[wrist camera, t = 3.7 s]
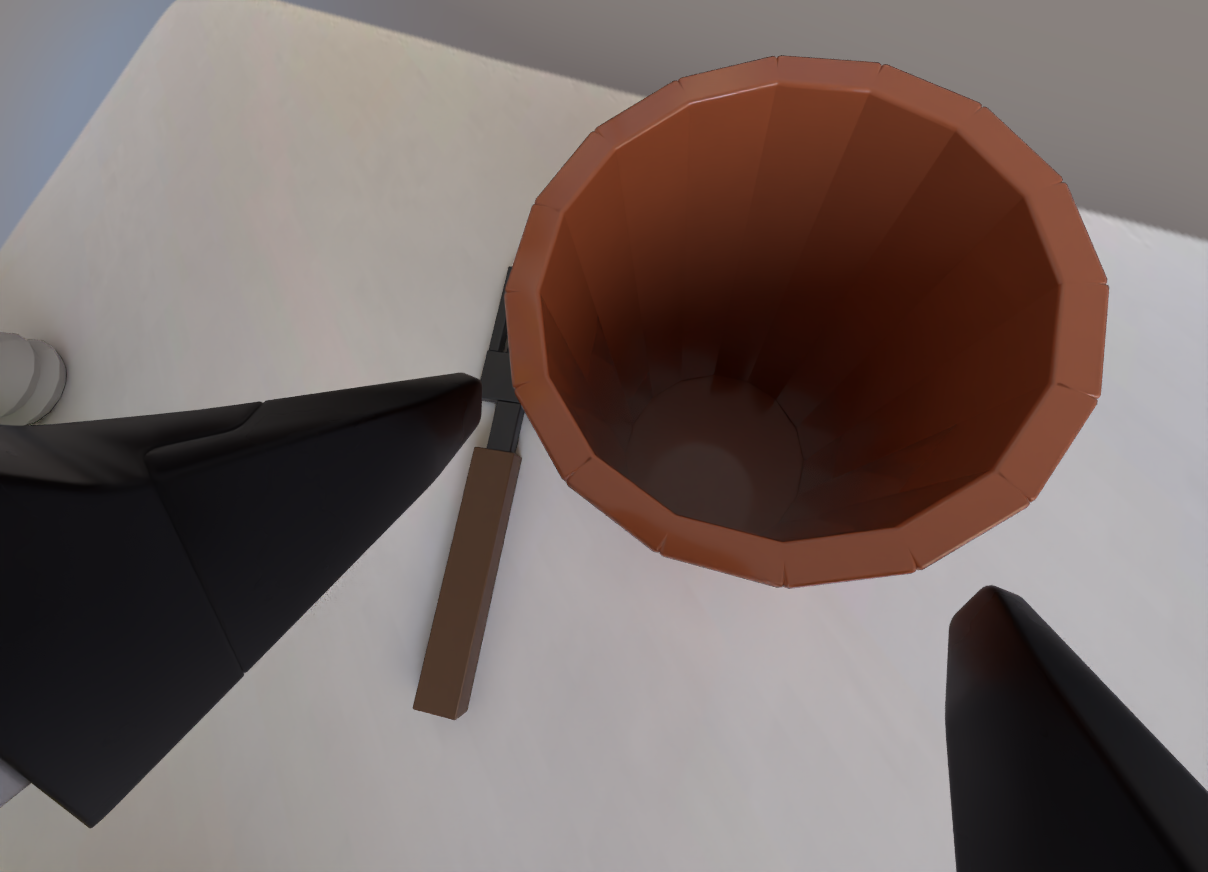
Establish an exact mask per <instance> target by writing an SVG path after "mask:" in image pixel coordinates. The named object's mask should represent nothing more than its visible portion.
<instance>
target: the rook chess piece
mask: <svg viewBox="0 0 1208 872" xmlns="http://www.w3.org/2000/svg"><path fill="white" fill-rule="evenodd" d="M65 383H66V368H65V365H64V363H63V361H62V359H61V357H60V356H59V354H58V353H57V352H56V351H55V349H54V348H53V347H51V346H50V345H48V344H47V343H45V342H44V341H42V340H30V339H27V340H26V339H24V338H23V337H21V336H20V335H19V334H14V333H5V332H0V424H1V425H23V426H24V425H27V424H30V423H33V422H36V421H38V420H39V419H41V418H42V417H43V416H45V415H46V414H47V413H49V412H50V411H51V409H52V408H53V407H54V405H55V404H56V403H57V401H58V400H59V399H60V397H61V394H62V391H63V389H64V386H65Z"/></svg>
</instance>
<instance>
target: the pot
mask: <svg viewBox="0 0 1208 872" xmlns="http://www.w3.org/2000/svg"><path fill="white" fill-rule="evenodd" d="M981 106H982V105H981V104H980V103H979V102H977V101H974V100H972V99H969V98H967V97H965V96H962V95H960V94H957V93H955V92H952V91H950V90H948V89H945V88H943V87H940V86H938V85H935V84H933V83H931V82H928V81H926V80H923V79H921V78H918V77H916V76H914V75H911V74H909V73H907V72H904V71H902V70H899V69H897V68H894V67H892V66H890V65H886V64H884V65H882V66H881V64H880V63H878V62H864V61H851V60H837V59H823V58H810V57H796V56H782V55H781V56H778V57H777V59H776V57H775V56H771V57H766V58H762V59H758V60H754V61H750V62H745V63H741V64H737V65H733V66H729V67H724V68H720V69H716V70H712V71H707V72H704V73H699V74H695V75H691V76H686V77H682V78H680V79H679V80H678V81H672V82H671V83H670V84H667V85H666V86H664V87H663V88H661V89H659V90H658V91H656V92H654V93H653V94H651V95H649V96H648V97H646V98H644V99H643V100H641V101H639V102H638V103H636V104H634V105H633V106H631V107H630V108H628V109H626V110H625V111H623V112H621V113H620V114H618V115H616V116H615V117H613V118H611V119H610V120H608V121H606V122H605V123H603V124H601V125H600V126H598V127H597V128H596V129H595V131H593V132H591V133H590V134H589V135H588V136H587V138H586V139H585V140H584V141H583V143H582V144H581V145H580V146H579V147H578V149H577V150H576V151H575V152H574V153H573V155H572V156H571V157H570V158H569V160H568V161H567V162H566V163H565V164H564V166H563V167H562V168H561V169H560V170H559V172H558V173H557V174H556V175H555V177H554V178H553V179H552V180H551V181H550V183H549V184H548V185H547V186H546V187H545V189H544V190H543V191H542V192H541V194H540V195H539V196H538V197H537V198H536V200H535V204H533V206H532V208H531V211H530V214H529V217H528V220H527V223H526V226H525V229H524V232H523V235H522V238H521V241H520V244H519V248H518V251H517V254H516V257H515V260H514V263H513V266H512V269H511V272H510V275H509V278H508V281H507V284H506V287H505V292H506V293H505V295H504V301H505V312H506V323H507V334H508V345H509V356H510V367H511V378H512V386H513V388H514V389H515V395H516V397H517V399H518V401H519V403H520V404H521V406H522V408H523V410H524V412H525V413H526V415H527V417H528V419H529V421H530V422H531V424H532V426H533V428H534V430H535V431H536V433H537V435H538V437H539V439H540V440H541V442H542V444H543V446H544V447H545V449H546V451H547V453H548V455H549V456H550V458H551V460H552V462H553V464H554V465H555V467H556V469H557V471H558V473H559V474H560V476H561V478H562V479H563V480H564V481H566V483H567V485H568V486H569V487H570V488H571V489H573V490H574V491H575V492H577V493H578V494H579V495H580V496H582V497H583V498H584V499H586V500H587V501H588V502H590V503H591V504H592V505H593V506H595V507H596V508H597V509H599V510H600V511H601V512H603V513H604V514H605V515H606V516H608V517H609V518H610V519H612V520H613V521H614V522H615V523H617V524H618V525H619V526H621V527H622V528H623V529H625V530H626V531H627V532H628V533H630V534H631V535H632V536H634V537H635V538H636V539H638V540H639V541H640V542H641V543H643V544H644V545H645V546H647V547H648V548H649V549H650V550H652V551H653V552H656V553H659V552H660V554H661V555H662V556H663V557H667V558H670V559H674V560H678V561H681V562H685V563H689V564H692V565H696V566H700V567H703V568H707V569H711V570H714V571H718V572H722V573H725V574H729V575H733V576H736V577H740V578H743V579H747V580H751V581H754V582H758V583H762V584H765V585H769V586H773V587H776V588H779V587H785V588H788V589H791V588H799V587H807V586H815V585H823V584H831V583H839V582H847V581H855V580H863V579H871V578H880V577H888V576H896V575H904V574H912V573H913V572H915V571H916V570H923V569H925V568H927V567H928V566H930V565H932V564H933V563H935V562H937V561H938V560H940V559H942V558H943V557H945V556H947V555H948V554H950V553H952V552H953V551H955V550H957V549H958V548H960V547H962V546H963V545H965V544H967V543H968V542H970V541H972V540H974V539H975V538H977V537H979V536H980V535H982V534H984V533H985V532H987V531H989V530H990V529H992V528H994V527H995V526H997V525H999V524H1000V523H1002V522H1004V521H1005V520H1007V519H1009V518H1010V517H1012V516H1014V515H1015V514H1017V513H1019V512H1020V511H1022V510H1024V509H1026V508H1027V507H1028V506H1029V504H1030V502H1032V501H1034V500H1035V499H1036V498H1037V496H1038V495H1039V493H1040V492H1041V490H1042V489H1043V487H1044V485H1045V484H1046V482H1047V481H1048V479H1049V478H1050V476H1051V475H1052V473H1053V471H1054V470H1055V468H1056V467H1057V465H1058V464H1059V462H1060V461H1061V459H1062V458H1063V456H1064V454H1065V453H1066V451H1067V450H1068V448H1069V447H1070V445H1071V444H1072V442H1073V440H1074V439H1075V437H1076V436H1077V434H1078V433H1079V431H1080V430H1081V428H1082V427H1083V425H1084V423H1085V422H1086V420H1087V419H1088V417H1089V416H1090V414H1091V413H1092V411H1093V409H1094V408H1095V406H1096V405H1097V402H1098V400H1097V399H1098V398H1099V397H1100V395H1101V386H1102V373H1103V361H1104V348H1105V335H1106V322H1107V309H1108V297H1109V286H1108V285H1106V283H1107V277H1106V275H1105V273H1104V270H1103V268H1102V265H1101V263H1100V261H1099V258H1098V256H1097V254H1096V251H1095V249H1094V247H1093V244H1092V242H1091V239H1090V237H1089V235H1088V232H1087V230H1086V228H1085V225H1084V223H1083V221H1082V218H1081V216H1080V214H1079V211H1078V209H1077V206H1076V204H1075V202H1074V199H1073V197H1072V195H1071V192H1070V190H1069V188H1068V185H1067V184H1066V183H1063V182H1062V181H1063V179H1062V177H1061V176H1060V175H1059V174H1058V173H1057V172H1056V171H1055V170H1054V169H1052V167H1050V166H1049V165H1048V164H1047V163H1046V162H1045V161H1044V160H1043V159H1042V158H1041V157H1040V156H1039V155H1038V154H1037V153H1035V152H1034V151H1033V150H1032V149H1031V148H1030V147H1029V146H1028V145H1027V144H1026V143H1025V142H1024V141H1023V140H1021V138H1019V137H1018V136H1017V135H1016V134H1015V133H1014V132H1013V131H1012V130H1011V129H1010V128H1009V127H1008V126H1007V125H1005V124H1004V123H1003V122H1002V121H1001V120H1000V119H999V118H998V117H997V116H995V114H994V113H993V112H991V111H990V110H989V109H988V108H987V107H982V108H981Z"/></svg>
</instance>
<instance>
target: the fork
mask: <svg viewBox="0 0 1208 872" xmlns="http://www.w3.org/2000/svg"><path fill="white" fill-rule="evenodd" d="M511 269H512V267H510V266H509V267H508V272H507V276H506V280H505V284H504V288H503V292H502V297H501V301H500V305H499V309H498V313H497V317H496V321H495V326H494V330H493V334H492V338H491V342H490V346H489V350H488V351H487V355H486V359H485V363H484V367H483V372H482V376H481V380H480V381H481V383H482V401H487V402H494V403H497V406H496V410H495V414H494V419H493V423H492V427H491V432H490V436H489V440H488V444H487V448H481V447H475V448H474V451H473V456H472V460H471V464H470V468H469V473H468V477H467V481H466V485H465V489H464V494H463V498H462V502H461V506H460V511H459V515H458V519H457V523H456V527H455V532H454V536H453V540H452V544H451V549H450V553H449V557H448V561H447V565H446V570H445V574H444V578H443V582H442V587H441V591H440V595H439V599H438V603H437V608H436V612H435V616H434V620H433V625H432V629H431V633H430V637H429V641H428V646H427V650H426V654H425V658H424V663H423V667H422V671H421V675H420V679H419V684H418V688H417V692H416V696H415V701H414V705H413V709H415V710H418V711H422V712H426V713H430V714H433V715H437V716H441V717H445V718H448V719H452V720H456V719H457V718H459V717H460V716H461V715H463V714H464V713H465V712H466V711H467V709H468V704H469V700H470V695H471V691H472V686H473V681H474V677H475V672H476V667H477V663H478V658H479V654H480V649H481V644H482V640H483V635H484V630H485V626H486V621H487V617H488V612H489V607H490V603H491V598H492V594H493V589H494V584H495V580H496V575H497V570H498V566H499V561H500V557H501V552H502V547H503V543H504V538H505V533H506V529H507V524H508V520H509V515H510V510H511V506H512V501H513V496H514V492H515V487H516V483H517V478H518V473H519V469H520V464H521V460H522V458H521V457H520V456H518V455H516V454H515V452H516V447H517V443H518V438H519V433H520V429H521V424H522V420H523V415H524V410H523V408H522V406H521V404H520V403H519V401H518V399H517V397H516V395H515V389H514V388H513V386H512V378H511V367H510V356H509V345H508V349H507V352H503V349H504V345H505V341H506V337H507V323H506V312H505V301H504V295H505V293H506V292H505V287H506V284H507V281H508V278H509V275H510V272H511Z"/></svg>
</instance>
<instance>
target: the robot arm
mask: <svg viewBox="0 0 1208 872" xmlns="http://www.w3.org/2000/svg"><path fill="white" fill-rule="evenodd" d="M481 410H482V383H481V381H480V380H479V379H477V378H475V377H473V376H470V375H468V374H465V373H454V374H447V375H440V376H433V377H426V378H419V379H412V380H405V381H398V382H391V383H385V384H378V385H371V386H364V387H357V388H350V389H343V390H336V391H329V392H322V393H316V394H309V395H302V396H295V397H288V398H281V399H274V400H267V401H265V402H264V403H262V402H253V403H246V404H239V405H232V406H224V407H217V408H209V409H201V410H193V411H183V412H174V413H165V414H155V415H145V416H135V417H124V418H114V419H103V420H93V421H83V422H72V423H62V424H51V425H35V426H23V425H1V424H0V808H1V807H2V806H3V805H4V804H6V803H7V802H8V801H9V800H11V799H12V798H13V797H14V796H16V795H17V794H18V793H19V792H21V791H22V790H23V789H24V788H26V787H27V786H28V785H29V784H31V783H32V784H34V785H35V786H36V787H37V788H39V789H40V790H41V791H42V792H44V793H45V794H46V795H48V796H49V797H50V798H51V799H53V800H54V801H55V802H57V803H58V804H59V805H60V806H62V807H63V808H64V809H66V810H67V811H68V812H69V813H71V814H72V815H73V816H75V817H76V818H77V819H78V820H80V821H81V822H82V823H84V824H85V825H86V826H87V827H89V828H93V827H94V826H95V825H96V824H97V823H98V822H100V821H101V820H102V819H103V818H104V817H105V816H106V815H107V814H108V813H109V812H110V811H111V810H112V809H113V808H114V807H115V806H116V805H117V804H118V803H119V802H120V801H121V800H122V799H123V798H124V797H125V796H126V795H127V794H128V793H129V792H130V791H131V790H132V789H133V788H134V787H135V786H136V785H137V784H138V783H139V782H140V781H141V780H142V779H143V778H144V777H145V776H146V775H147V774H148V773H149V772H150V771H151V770H152V769H153V768H154V767H155V766H156V765H157V764H158V763H159V762H160V760H161V759H162V758H163V757H164V756H165V755H166V754H167V753H168V752H169V751H170V750H171V749H172V748H173V747H174V746H175V745H176V744H177V743H178V742H179V741H180V740H181V739H182V738H183V737H184V736H185V735H186V734H187V733H188V732H189V731H190V730H191V729H192V728H193V727H194V726H195V725H196V724H197V723H198V722H199V721H200V720H201V719H202V718H203V717H204V716H205V715H206V714H207V713H208V712H209V711H210V710H211V709H212V708H213V707H214V706H215V705H216V704H217V703H218V702H219V700H220V699H221V698H222V697H223V696H224V695H225V694H226V693H227V692H228V691H229V690H230V689H231V688H232V687H233V686H234V685H235V684H236V683H237V682H238V681H239V680H240V679H241V678H242V677H243V676H244V673H246V672H247V671H249V669H250V668H251V667H252V666H253V665H254V664H255V663H256V662H257V661H258V660H259V659H260V658H261V657H262V656H263V655H264V654H265V653H266V652H267V651H268V650H269V649H270V648H271V647H272V646H273V645H274V644H275V643H276V642H277V641H278V640H279V639H280V638H281V637H282V636H283V635H284V634H285V633H286V632H287V631H288V630H289V629H290V628H291V627H292V626H293V625H294V624H295V623H296V622H297V621H298V620H299V619H300V618H301V617H302V616H303V615H304V614H305V612H306V611H307V610H308V609H309V608H310V607H311V606H312V605H313V604H314V603H315V602H316V601H317V600H318V599H319V598H320V597H321V596H322V595H323V594H324V593H325V592H326V591H327V590H328V589H329V588H330V587H331V586H332V585H333V584H334V583H335V582H336V581H337V580H338V579H339V578H340V577H341V576H342V575H343V574H344V573H345V572H346V571H347V570H348V569H349V568H350V567H351V566H352V565H353V564H354V563H355V562H356V561H357V560H358V559H359V558H360V556H361V555H362V554H363V553H364V552H365V551H366V550H367V549H368V548H369V547H370V546H371V545H372V544H373V543H374V542H375V541H376V540H377V539H378V538H379V537H380V536H381V535H382V534H383V533H384V532H385V531H386V530H387V529H388V528H389V527H390V526H391V525H392V524H393V523H394V522H395V521H396V520H397V519H398V518H399V517H400V516H401V515H402V514H403V513H404V512H405V511H406V510H407V509H408V508H409V507H410V506H411V505H412V504H413V503H414V502H415V501H416V499H417V498H418V497H419V496H420V495H421V494H422V493H423V492H424V491H425V490H426V489H427V488H428V487H429V486H430V485H431V484H432V483H433V482H434V481H435V479H436V478H437V477H438V476H439V475H440V473H441V472H442V471H443V470H444V468H445V467H446V466H447V465H448V463H449V462H450V461H451V459H452V458H453V457H454V456H455V454H456V453H457V452H458V450H459V449H460V448H461V447H462V445H463V444H464V443H465V442H466V440H467V439H468V438H469V436H470V435H471V434H472V433H473V431H474V430H475V429H476V427H477V426H478V424H479V422H480V419H481ZM945 726H946V742H947V755H948V768H949V781H950V794H951V807H952V820H953V833H954V846H955V859H956V872H1208V791H1207V790H1206V789H1205V788H1204V787H1203V786H1202V785H1201V784H1200V783H1199V782H1198V781H1197V780H1196V779H1195V778H1194V777H1193V776H1192V775H1191V774H1190V773H1189V771H1188V770H1187V769H1186V768H1185V767H1184V766H1183V765H1182V764H1181V763H1180V762H1179V761H1178V760H1177V759H1176V758H1175V757H1174V756H1173V755H1172V754H1171V753H1170V752H1169V751H1168V750H1167V748H1166V747H1165V746H1164V745H1163V744H1162V743H1161V742H1160V741H1159V740H1158V739H1157V738H1156V737H1155V736H1154V735H1153V734H1152V733H1151V732H1150V731H1149V730H1148V729H1147V728H1146V727H1145V726H1144V724H1143V723H1142V722H1141V721H1140V720H1139V719H1138V718H1137V717H1136V716H1135V715H1134V714H1133V713H1132V712H1131V711H1130V710H1129V709H1128V708H1127V707H1126V706H1125V705H1124V704H1123V703H1122V701H1121V700H1120V699H1119V698H1118V697H1117V696H1116V695H1115V694H1114V693H1113V692H1112V691H1111V690H1110V689H1109V688H1108V687H1107V686H1106V685H1105V684H1104V683H1103V682H1102V681H1101V680H1100V678H1099V677H1098V676H1097V675H1096V674H1095V673H1094V672H1093V671H1092V670H1091V669H1090V668H1089V667H1088V666H1087V665H1086V664H1085V663H1084V662H1083V661H1082V660H1081V659H1080V658H1079V657H1078V655H1077V654H1076V653H1075V652H1074V651H1073V650H1072V649H1071V648H1070V647H1069V646H1068V645H1067V644H1066V643H1065V642H1064V641H1063V640H1062V639H1061V638H1060V637H1059V636H1058V635H1057V634H1056V632H1055V631H1054V630H1053V629H1052V628H1051V627H1050V626H1049V625H1048V624H1047V623H1046V622H1045V621H1044V620H1043V619H1042V618H1041V617H1040V616H1039V615H1038V614H1037V613H1036V612H1035V611H1034V609H1033V608H1032V607H1031V606H1030V605H1029V604H1028V603H1027V602H1026V601H1025V600H1024V599H1023V598H1022V597H1020V596H1018V595H1016V594H1014V593H1011V592H1009V591H1006V590H1004V589H1001V588H999V587H996V586H993V585H989V586H985V587H983V588H982V589H980V590H979V591H978V592H977V593H976V594H975V595H974V596H973V597H972V598H971V599H970V600H969V601H968V602H967V603H966V604H965V605H964V606H963V607H962V608H961V609H960V610H959V611H958V612H957V613H956V614H955V615H954V617H953V618H952V620H951V623H950V626H949V639H948V660H947V680H946V701H945Z"/></svg>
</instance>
